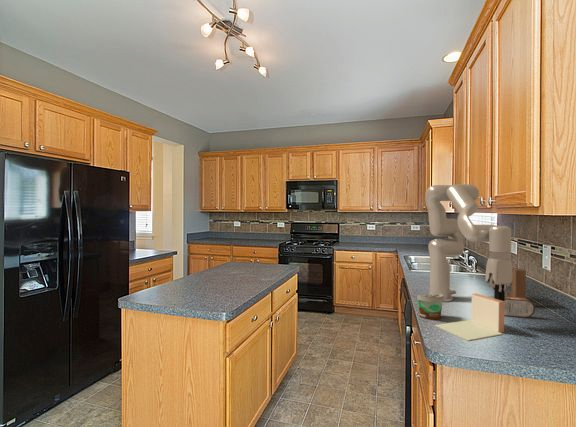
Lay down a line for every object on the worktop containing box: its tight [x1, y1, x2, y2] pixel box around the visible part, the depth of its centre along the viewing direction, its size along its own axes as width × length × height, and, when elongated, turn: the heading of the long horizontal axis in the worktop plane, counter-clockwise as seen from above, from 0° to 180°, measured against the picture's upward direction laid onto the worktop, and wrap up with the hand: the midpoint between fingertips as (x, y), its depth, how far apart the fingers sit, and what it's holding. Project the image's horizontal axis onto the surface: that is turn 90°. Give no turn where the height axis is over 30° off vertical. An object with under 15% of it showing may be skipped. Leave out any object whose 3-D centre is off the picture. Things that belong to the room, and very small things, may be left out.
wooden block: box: [506, 267, 527, 298], centre depth 156 cm, size 9×4×18 cm, turn 166°
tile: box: [470, 292, 505, 334], centre depth 125 cm, size 3×12×12 cm, turn 20°
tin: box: [504, 295, 536, 319], centre depth 138 cm, size 15×3×8 cm, turn 75°
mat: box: [434, 319, 503, 342], centre depth 122 cm, size 18×15×1 cm
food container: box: [416, 293, 444, 321], centre depth 135 cm, size 12×6×10 cm, turn 105°
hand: (499, 300), depth 127 cm, fingers closed
